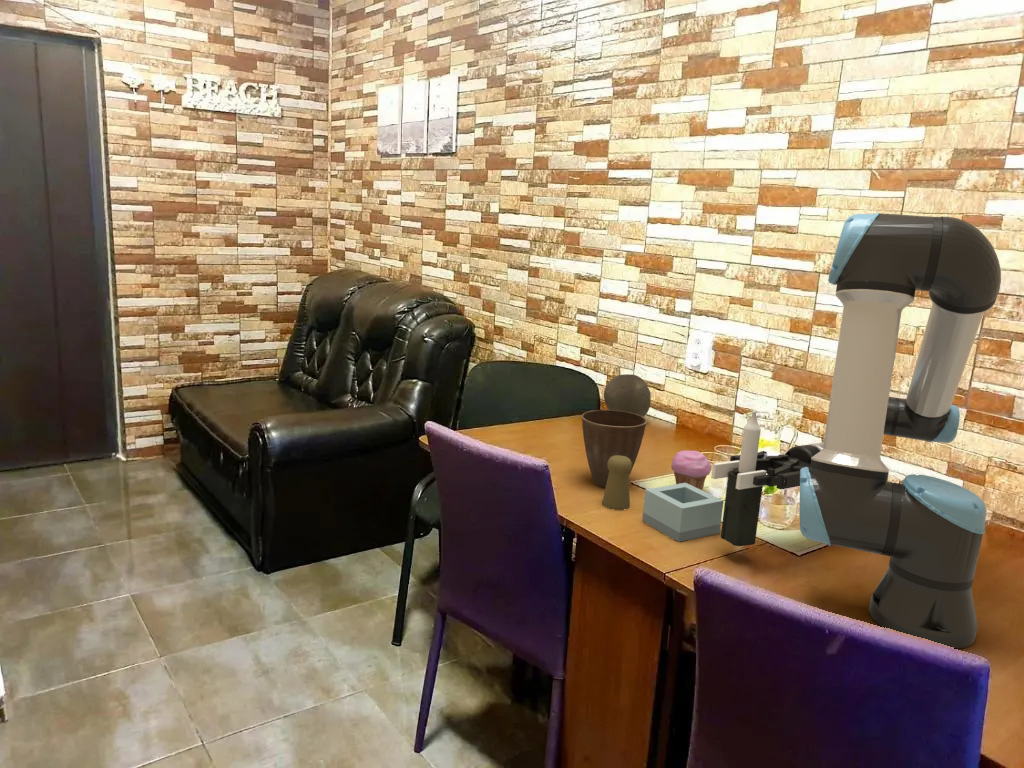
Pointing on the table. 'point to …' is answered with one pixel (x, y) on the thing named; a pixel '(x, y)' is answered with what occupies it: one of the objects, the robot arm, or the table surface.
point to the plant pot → (610, 439)
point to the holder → (682, 511)
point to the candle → (743, 493)
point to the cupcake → (691, 468)
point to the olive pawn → (617, 483)
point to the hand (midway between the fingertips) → (725, 476)
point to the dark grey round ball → (627, 394)
